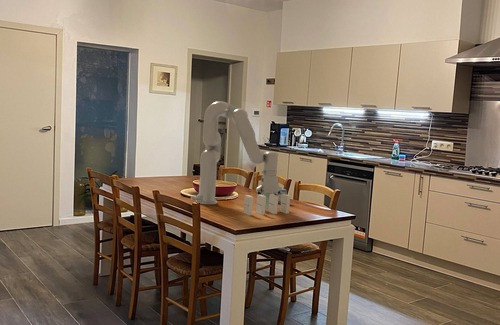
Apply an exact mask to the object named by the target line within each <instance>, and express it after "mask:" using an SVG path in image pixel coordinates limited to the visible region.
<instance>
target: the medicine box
mask: <svg viewBox="0 0 500 325" xmlns="http://www.w3.org/2000/svg"><path fill="white" fill-rule="evenodd" d="M287 193H288V190H287V189H286V188H285V189H283V188H282V190H281V191H280V194H279V195H278V205H281V194H286V195H288V194H287ZM273 195H274V193H273Z"/></svg>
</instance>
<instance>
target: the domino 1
mask: <svg viewBox="0 0 500 325" xmlns="http://www.w3.org/2000/svg"><path fill="white" fill-rule="evenodd" d="M253 207H254V196H252V195H249V194H244V200H243V214H244V215H246V216H253V209H254V208H253Z"/></svg>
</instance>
